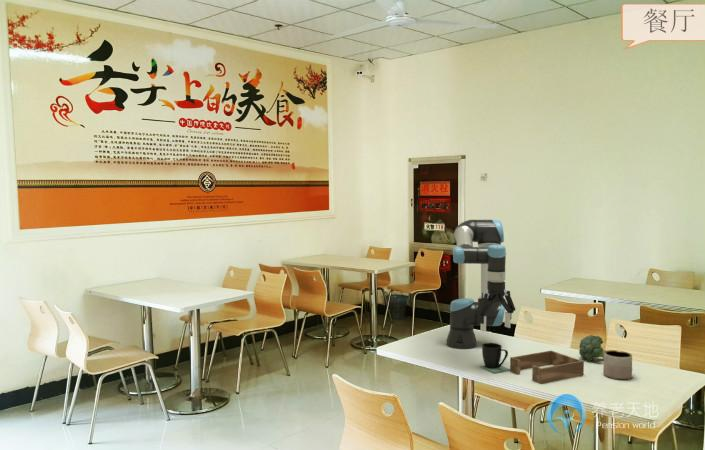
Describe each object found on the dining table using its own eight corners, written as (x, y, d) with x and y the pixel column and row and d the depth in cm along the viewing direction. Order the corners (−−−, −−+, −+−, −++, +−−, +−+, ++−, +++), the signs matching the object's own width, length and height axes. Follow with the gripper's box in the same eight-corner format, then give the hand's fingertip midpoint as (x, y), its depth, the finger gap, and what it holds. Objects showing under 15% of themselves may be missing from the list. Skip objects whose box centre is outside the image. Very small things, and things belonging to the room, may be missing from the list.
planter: (597, 373, 234) (597, 351, 234) (616, 370, 238) (616, 349, 238) (618, 381, 224) (619, 358, 224) (637, 378, 228) (638, 355, 228)
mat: (480, 367, 243) (480, 366, 242) (496, 364, 246) (496, 363, 246) (493, 373, 234) (493, 372, 234) (510, 370, 238) (510, 369, 238)
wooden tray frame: (510, 371, 238) (510, 357, 237) (550, 363, 248) (551, 350, 248) (541, 383, 222) (541, 369, 221) (583, 375, 232) (583, 361, 232)
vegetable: (618, 361, 245) (588, 346, 245) (600, 374, 254) (571, 359, 254) (618, 340, 254) (588, 325, 254) (600, 353, 263) (572, 339, 263)
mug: (500, 373, 233) (501, 350, 233) (478, 366, 243) (478, 344, 242) (512, 369, 238) (512, 347, 238) (489, 362, 248) (489, 341, 247)
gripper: (479, 284, 229) (478, 334, 231) (524, 279, 241) (523, 327, 242) (467, 281, 236) (467, 330, 238) (512, 277, 247) (511, 323, 249)
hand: (495, 329), depth 240 cm, fingers open, 13 cm apart
